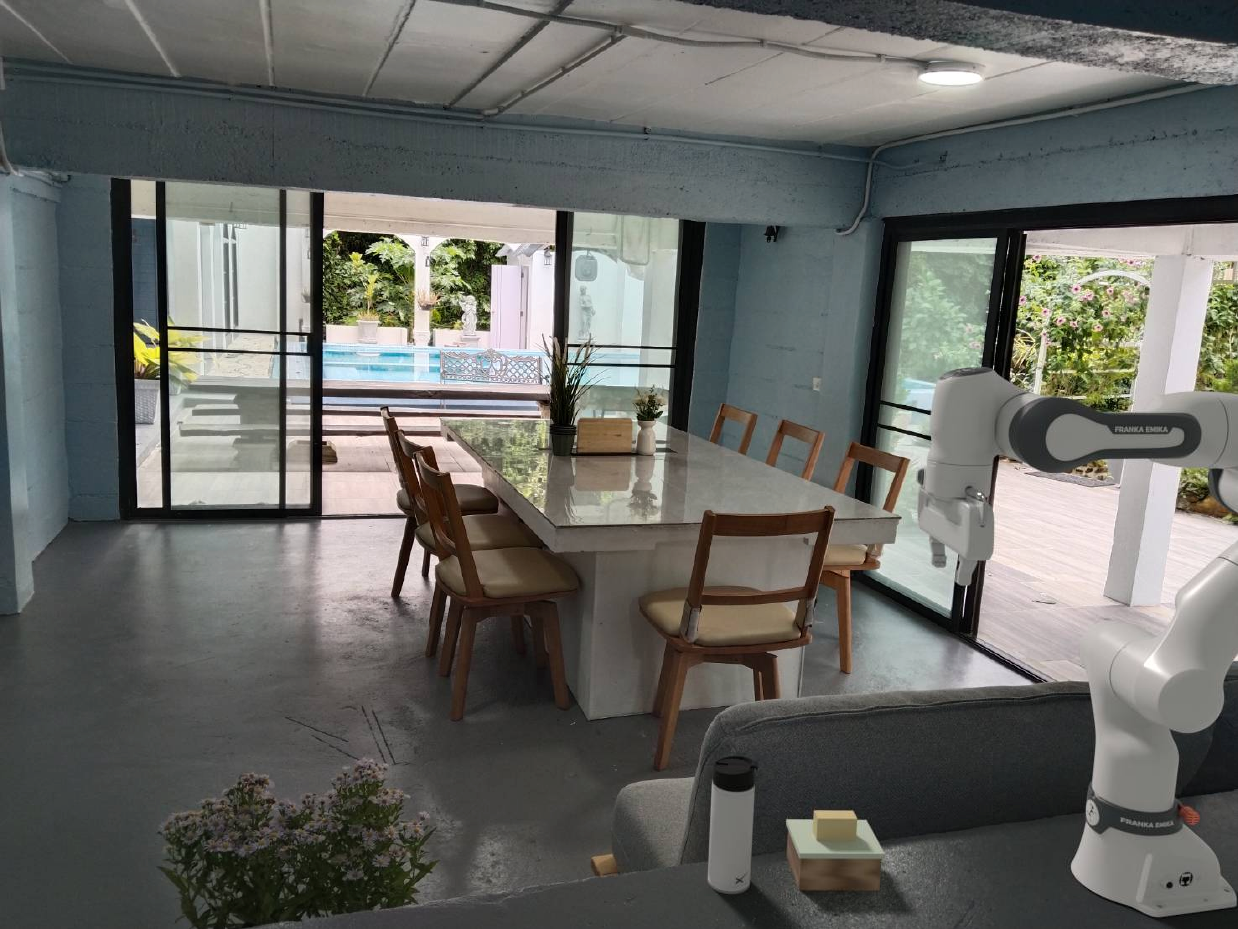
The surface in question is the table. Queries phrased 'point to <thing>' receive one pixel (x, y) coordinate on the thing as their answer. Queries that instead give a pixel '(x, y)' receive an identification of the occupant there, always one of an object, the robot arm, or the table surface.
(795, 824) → the lid
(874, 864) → the walnut box
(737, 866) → the travel mug
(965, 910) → the table surface
